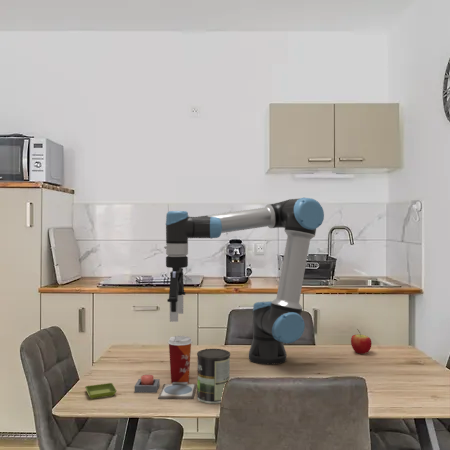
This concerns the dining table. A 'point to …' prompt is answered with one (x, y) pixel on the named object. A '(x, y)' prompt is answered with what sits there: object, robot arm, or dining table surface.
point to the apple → (361, 343)
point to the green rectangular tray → (101, 390)
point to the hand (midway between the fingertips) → (176, 317)
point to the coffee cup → (179, 358)
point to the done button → (147, 380)
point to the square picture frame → (178, 391)
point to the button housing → (147, 386)
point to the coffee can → (212, 374)
